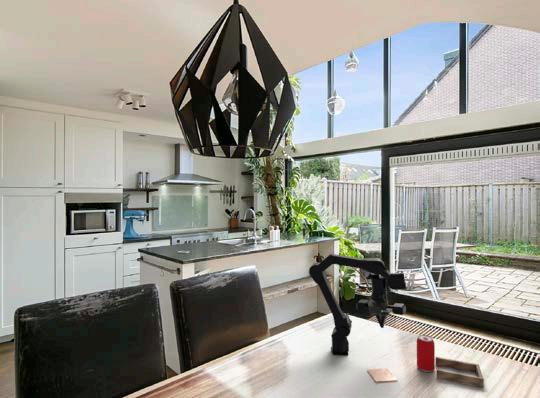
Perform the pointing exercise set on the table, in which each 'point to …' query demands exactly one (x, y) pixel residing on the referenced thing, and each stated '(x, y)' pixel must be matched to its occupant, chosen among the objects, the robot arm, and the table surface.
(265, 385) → the table surface
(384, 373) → the terracotta tile
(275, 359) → the table surface
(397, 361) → the table surface
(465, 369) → the walnut corral
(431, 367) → the beverage can
